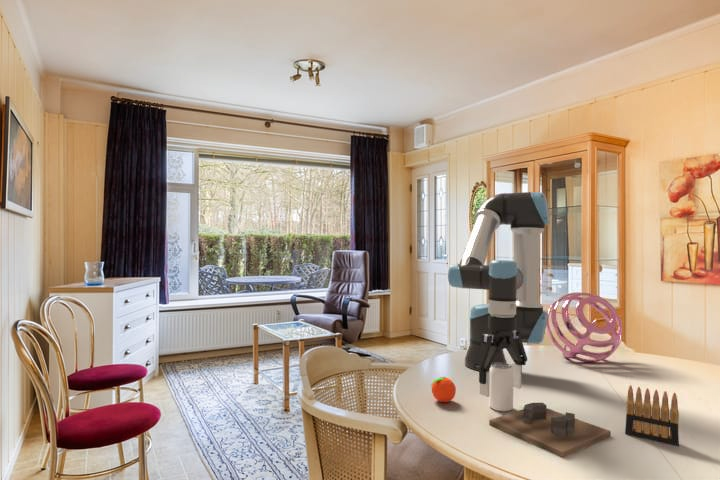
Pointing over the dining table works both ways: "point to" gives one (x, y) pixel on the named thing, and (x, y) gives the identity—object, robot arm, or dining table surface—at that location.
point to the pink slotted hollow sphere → (591, 327)
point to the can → (501, 387)
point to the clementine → (443, 389)
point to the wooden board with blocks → (550, 429)
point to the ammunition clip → (652, 417)
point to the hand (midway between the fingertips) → (500, 391)
